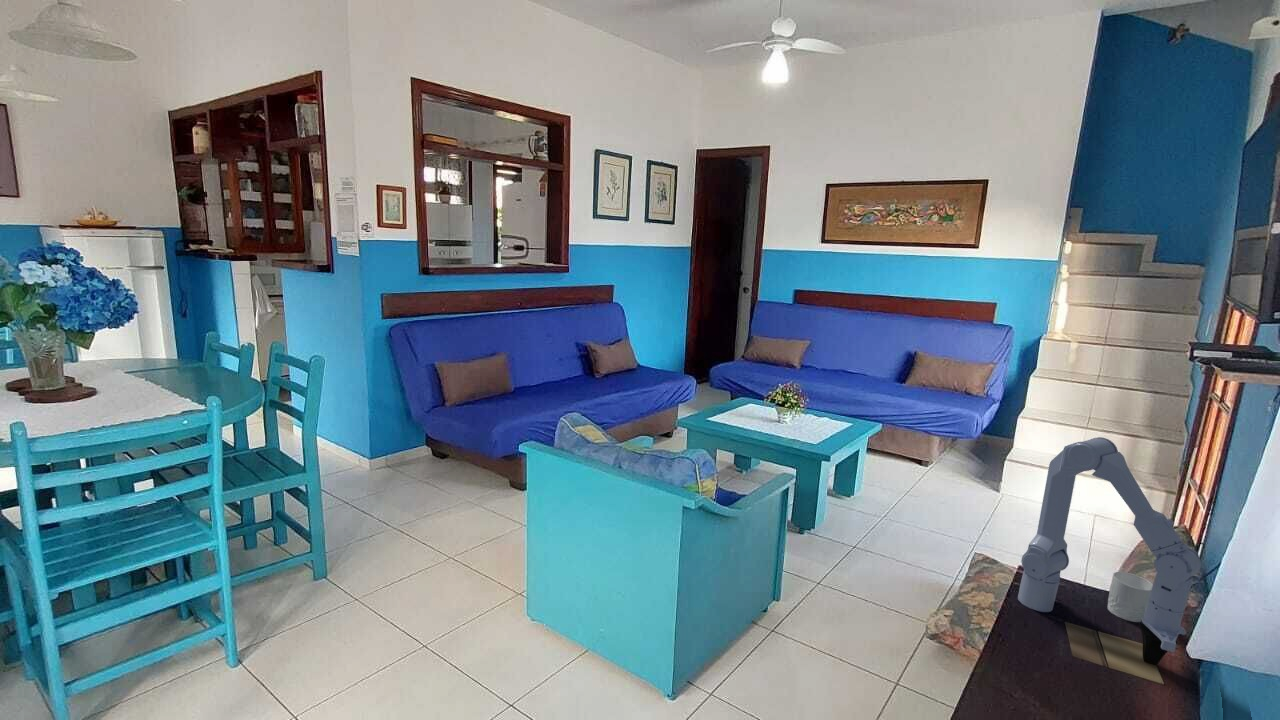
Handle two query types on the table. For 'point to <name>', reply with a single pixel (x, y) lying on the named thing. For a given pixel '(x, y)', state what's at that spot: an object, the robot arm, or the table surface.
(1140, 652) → the oak plank
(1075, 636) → the walnut board
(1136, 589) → the white cup
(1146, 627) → the robot arm
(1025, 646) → the table surface
